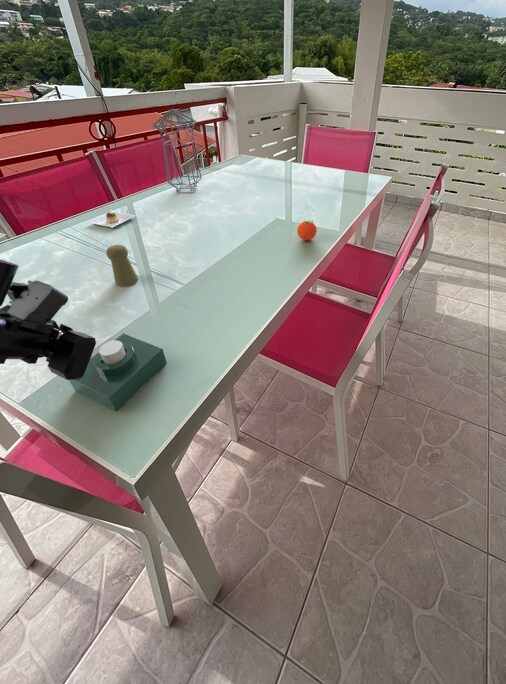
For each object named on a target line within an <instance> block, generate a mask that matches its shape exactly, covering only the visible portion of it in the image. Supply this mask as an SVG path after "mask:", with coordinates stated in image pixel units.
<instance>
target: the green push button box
mask: <svg viewBox="0 0 506 684" xmlns="http://www.w3.org/2000/svg"><path fill="white" fill-rule="evenodd" d="M114 340H117V341H120V342H121V343H122V345H123V347H124V350H125V352H126V356H125V358H124V359H123V360H121V361H120V362H118V363H115V364H112V365H107V364H105V363H104V362H103V360H102V358H101V356H100V353H99V351H98V352H97V353H95V354H94V355H93V356H91V358H90V360H89V363H88V366H87V368H86V371H85V373H84V376H83V377H82V378H80V379H75V380H68V381H69V382H70V385H71V387H72V388H73V390H74V391H75V392H77V393H78V394H81V396H82V395H83V396H85V397H86V398H87V399H90V400H92V401H94V402H96V403H98V404H100V405H102V406H104V407H106V408H108V409H110V410H112V411H114V412H115V413H116V412H118V411H119V410H120V409H121V408H122V407H123V406H124V405H125V404H126V403H127V402H129V400H130V399H131V398H132V397H134V396H135V394H137V393H138V391H140V390H141V389H142V388H143V387H144V386H145V385H146V384H147V383H148V382H149V381H150V380H151V379H153V377H154V376H155V375H156V374H157V373H158V372H159V371H160V370H161V369H162V368H164V367H165V366H166V365H167V364H168V362H167V359H166V356H165V355H166V354H165V352H164V349H163V348H161V347H159V346H158V345H157V346H156V345H154V344H151V343H149V342H146V341H144V340H141V339H139V338H136V337H134V336H131V335H129V334H126V333H124V332H123V333H122V334H120V335H119V336H118V337H116V338H115V339H114Z"/></svg>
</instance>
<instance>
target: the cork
mask: <svg viewBox="0 0 506 684" xmlns="http://www.w3.org/2000/svg"><path fill="white" fill-rule="evenodd" d="M105 255H106V257H107V258H108V260H110V263H111V266H112V274H113V277H114V283H115V285H116V286H117V287H119V288H125V287H130V286H132V285H135V284H136V283H138V281H139V277H138V275H137V273H136V271H135V268H134V267H133V265H132V263H131V261H130V258H129V257H128V255H129V251H128V248H127V247H126V246H125V245H123V244H114V245H111V246H109V247H108V248H107V249H106V252H105Z"/></svg>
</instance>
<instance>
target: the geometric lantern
mask: <svg viewBox="0 0 506 684" xmlns="http://www.w3.org/2000/svg"><path fill="white" fill-rule="evenodd" d="M173 115H174V117H175V120H173ZM187 119H188V120H187ZM196 123H197V120H195V119H193V118H191V117H190V116H188V115H187V114H184V113H182V112H180V111H179V110H176V109H175V108H171V109H169V110H168V112H166V113H165V114H163V115H162V116H161V117H159V119H157V120H156V121H155V122H154V123H152V125H151V126H152V127H153V128H155V129H156V130H158V131H159V132H160V137H161V142H162V147H163V156H164V162H165V163H164V164H165V172H166V181H167V184H168V185H170V186H172V187H173V188H175V191H176V193H177V194H194V193H195V192H196V190H197V189H198V183H199V182H200V181H201V180H202V179H203V177H202V173H201V169H200V165H199V161H198V156H197V152H196V147H195V143H194V142H195V141H194V140H195V139H194V128H195V125H196ZM168 124H169V125H168ZM176 124H179V125H176ZM167 128H170V130H171V132H170V133H168V132H167ZM173 129H176V130H175V131H173ZM180 130H181V131H182V130H183V131H184V132H185V134H186V138H185V139H180V138H179V137H178V134H179V132H180ZM186 130H187V131H186ZM163 133H164V135H165V136H164V137H163ZM189 134H191V136H192V138H190V136H189ZM169 135H171V136H172V135H174V138H173V139H171V138H170V137H169ZM166 138H168V140H166ZM176 140H177V141H178V142H179V143H180V144H176ZM182 141H184V143H183V142H182ZM187 141H190V142H189V143H187ZM173 142H174V144H172V143H173ZM186 143H187V144H186ZM189 145H191V148H192V153H193V160H194V165H195V170H196V175H195V174H194V169H193V165H192V160H191V156H190V152H189V148H188V146H189ZM166 146H170V149H171V150H170V151H171V157H172V164H173V173H174V177H173V178H172V176H171V172H170V164H169V159H168V154H167V149H166ZM173 146H174V149H175V155H176V161H177V166H178V173H179V175H177V173H176V166H175V165H176V164H175V157H174V150H173ZM177 146H178V147H179V146H181V148H182V153H183V159H184V165H185V169H186V170H185V171H186V174H187V175H182V173H181V167H180V161H179V156H178V148H177ZM184 146H185V148H186V151H187V152H186V153H187V156H188V160H189V166H190V169H191V175H190V174H189V169H188V164H187V159H186V158H187V157H186V153H185V148H184ZM178 178H180V181H179V179H178ZM182 178H187V180H188V182H183V179H182ZM190 178H193V182H192V183H191V179H190ZM175 179H176V181H177V183H173V181H174V180H175ZM180 189H181V190H182V189H183V190H186V189H187V190H190V191H179V190H180Z"/></svg>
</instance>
